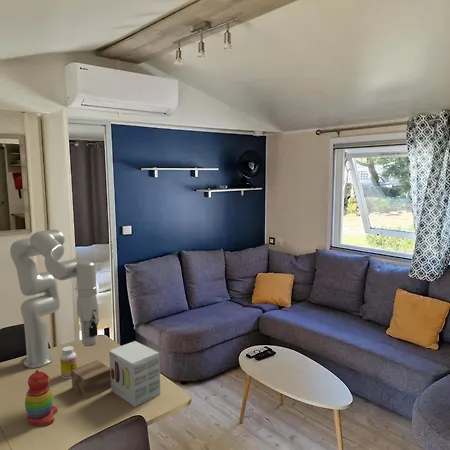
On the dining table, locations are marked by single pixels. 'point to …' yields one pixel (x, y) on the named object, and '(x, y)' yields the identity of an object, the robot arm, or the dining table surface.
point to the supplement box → (135, 373)
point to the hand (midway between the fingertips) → (89, 333)
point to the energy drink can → (87, 333)
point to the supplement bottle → (68, 362)
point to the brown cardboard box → (91, 379)
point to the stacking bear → (39, 400)
